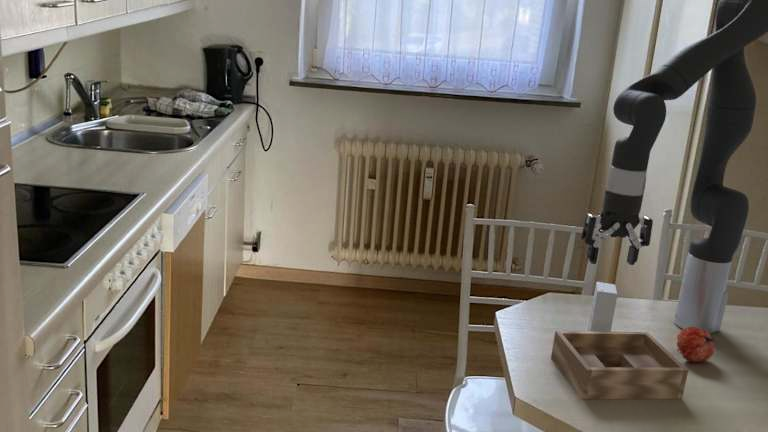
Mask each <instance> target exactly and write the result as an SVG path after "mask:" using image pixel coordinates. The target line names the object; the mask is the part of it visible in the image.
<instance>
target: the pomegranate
mask: <svg viewBox="0 0 768 432" xmlns="http://www.w3.org/2000/svg"><path fill="white" fill-rule="evenodd" d="M676 339H677V341H676V346H677V348H678V349H676V351H678V352H679V351H680V353H681V355H682V358H683V359H684V360H686V361H687V362H690V363H698V362H705V361H708V360H710V359H711V357H712V356H713V355H714V353H715V342H716V340H715V339H714V338H712V335H711V334H709V333H708V332H707V331H705V330H702V329H700V328H698V327H695V326H693V327H687V328H685V329H682V330H680V331H679V333H678V334H677V336H676Z"/></svg>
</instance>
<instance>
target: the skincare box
mask: <svg viewBox="0 0 768 432" xmlns="http://www.w3.org/2000/svg"><path fill="white" fill-rule="evenodd" d="M594 288H595V289H594V292H593V293H594V294H593V298H592V303H591V308H590V314H589V320H588V325H587V330H586V331H595V332H612V325H613V321H614V315H615V310H616V304H617V300H618V290H617V286H616V284H613V283H606V282H602V281H596V282H595V287H594Z"/></svg>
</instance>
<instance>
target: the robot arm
mask: <svg viewBox="0 0 768 432" xmlns="http://www.w3.org/2000/svg"><path fill="white" fill-rule="evenodd" d="M714 27H715V31H714V33H712V34H709V35H707V36H705V37H703V38H701V39H700V40H698V41H695V42H693V43H691V44H689V45H687V46H685V47H684V48H682V49H680V50H679V51H677V52H676V53H675V54H673V55H672V56H671V57H670V58H668V60H666V62H664V63H663V64H662V65H660V66H659V68H657V70H656V71H654V72H652V73H651V74H649V75H647V76H644V77H642V78H641V79H639V80H637V81H636V82H634V83H631V84H630V85H628V86H627V87H625V88H624V89H623V90H622V91H621V92H620V93H619V94H618V96H617V97H616V98H615V101H614V103H613V114H614V115H613V116H614V117H615V118H616V119H617V120H618V121H619V122H620V123H623V124H625V125H629V126H632V129H631V132H630V134H629V136H622V137H619V138H618V139H616V141H615V143H614V147H613V152H612V158H611V159H612V160H611V165H610V169H609V171H608V174H607V179H606V185H605V191H604V197H603V202H602V210H601V214H600V215H595V214H592V213H586V215H585V219H584V224H583V228H582V232H581V236H580V239H581V241H583V242H584V243H585V244H586V245H588V249H587V254H586V255H587V256H586V257H587V260H588V261H589V263H590V264H591V265H596V264H597V260H598V255H599V249H600V247H599V246H600V245H601V244H602V243H603V242H604V241H606V240H608V238H610V237H611V238H618V237H619V238H622V239H624V238H626V237H627V239H628V241H629V244H630V245H629V247H628V251H627V257H626V263H627V264H628V265H630V266H634V265H635V264H636V263H637V262H638V259H639V258H638V257H639V255H640V254H639V253H640V249H641V248H643V247H649V246H650V244H651V238H652V232H653V224H654V223H653V222H654V221H653V219H652V218H651V217H649V216H648V215H643V216H641V217H640V216H639V215H640V213H641V209H642V203H643V200H644V194H645V191H646V182H647V172H648V165H649V161H650V155H651V151H652V149H653V147H654V144H655V143H656V141H657V139H658V137H659V135H660V132H661V130H662V128H663V126H664V123H665V122H666V117H667V105H666V102H665V101H674V100H677V99H678V98H681V97H682V96H683V95H684V94H685V93H686V92H688V90H689V89H691V88H692V87H693V86H694V85H695V84H696V83H697V82H699V81H700V79H702V78H703V77H704V76H706V75H707V74H708V73H709V72H710V71H712V77H711V86H710V92H709V97H708V102H707V109H706V111H707V112H706V118H705V129H704V135H703V143H702V148H701V154H700V160H699V163H698V169H697V173H696V177H695V180H694V184H693V187H692V192H691V197H690V203H689V204H690V205H689V206H690V213H691V215H692V218H694V219H695V220H696V221H698V222H699V223H702V224H705V225H707V226H709V227H711V230H710V232H709V236H708V237H698V238H694V239H693V240H691V241H690V244H689V248H688V253H687V257H686V262H685V267H684V272H683V276H682V281H681V286H680V290H679V295H678V299H677V300H678V301H677V304H676V310H675V314H674V318H673V322H674V324H675V325H676V326H677V327H679V328H680V329H682V330H683V329H685V328H687V327H693V326H695V327H698V328H700V329H702V330H705V331H707V332H708V333H709V334H710V335H711V334H714V333H716V332H721V327H722V324H723V319H724V315H725V310H726V305H727V302H728V297H729V292H728V291H726V288H727V283H728V279H729V276H730V275H729V274H730V270H731V266H732V263H733V258H734V255H735V253H736V251H737V250H738V248H739V246H740V243H741V239H742V236H743V232H744V229H745V225H746V222H747V219H748V217H749V216H748V215H749V208H750V204H749V199H748V197H747V195H746V194H745V193H743V192H742V191H739V190H737V189H733V188H730V187H728V186H724V178H725V174H726V173H725V172H726V168H727V165H728V163H729V160H730V159H731V157H732V156H733V154H734V153H735V152H736V151H737V150H738V149H739V148H740V147H741V146H742V144H743V143H744V142H745V140H746V139H747V138H748V137H749V135H750V132H751V130H752V127H753V123H754V118H755V111H756V106H757V105H756V104H757V94H756V90H755V86H754V84H753V83H754V82H753V80H752V78H751V75H750V72H749V70H748V67H747V63H746V58H745V57H746V55H745V47H747V46H748V45H750V44H751V43H753V42H754V41H756V40H758V39H759V38H761V37H762V36H764V35H766V34H767V33H768V0H719V2H718V4H717V8H716V15H715V26H714ZM598 223H599V224H600V226H599V227H597V229H595V227H596V226H598ZM638 226H640V230H639V231H640V232H639V237H638V235H637V233H636V231H635V229H636V228H637V227H638Z"/></svg>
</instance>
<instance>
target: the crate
mask: <svg viewBox="0 0 768 432" xmlns="http://www.w3.org/2000/svg"><path fill="white" fill-rule="evenodd" d="M550 359H551V361H552V362H553V364H555V365H556V367H557V369H559V371H560V372H561V374H562V375H563V376H564V377H565V379H566V380H567V381H568V383H569V384H570V386H571V387H572V389H574V392H576V393H577V395H578V396H579V398H580V399H581V400H683V396H684V392H685V387H686V384H687V379H688V375H689V369H687V367H686V366H685V365H683V364H682V362H680V361H679V360H678V359H677V358H676V357H675V356H674V355H673V354H672V353H671V352H670V351H669V350H668V349H666V348H665V347H664V346H663V345H662V344H661V343H660V342H659V341H658V340H657V339H656V338H655V337H654V336H653V335H652V334H650V333H649V331H611V332H595V331H587V330H586V331H584V330H583V331H579V330H575V331H574V330H573V331H572V330H566V331H565V330H556V331H554V338H553V343H552V351H551V355H550Z"/></svg>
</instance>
